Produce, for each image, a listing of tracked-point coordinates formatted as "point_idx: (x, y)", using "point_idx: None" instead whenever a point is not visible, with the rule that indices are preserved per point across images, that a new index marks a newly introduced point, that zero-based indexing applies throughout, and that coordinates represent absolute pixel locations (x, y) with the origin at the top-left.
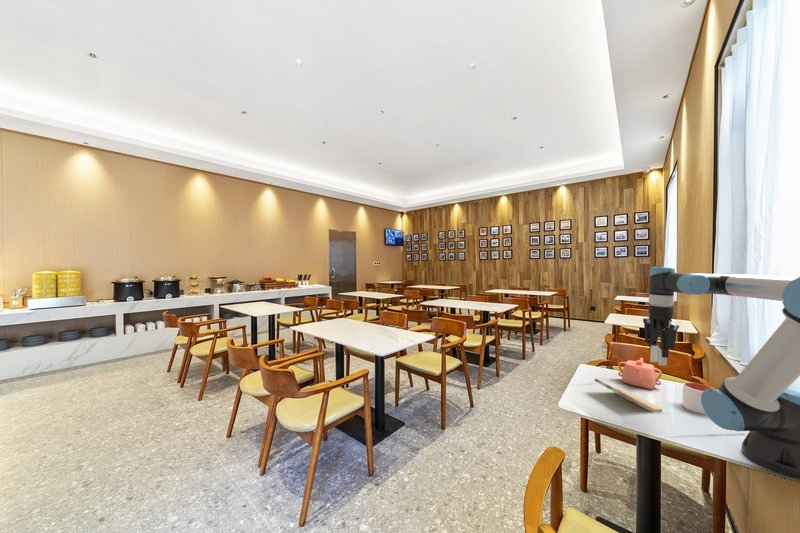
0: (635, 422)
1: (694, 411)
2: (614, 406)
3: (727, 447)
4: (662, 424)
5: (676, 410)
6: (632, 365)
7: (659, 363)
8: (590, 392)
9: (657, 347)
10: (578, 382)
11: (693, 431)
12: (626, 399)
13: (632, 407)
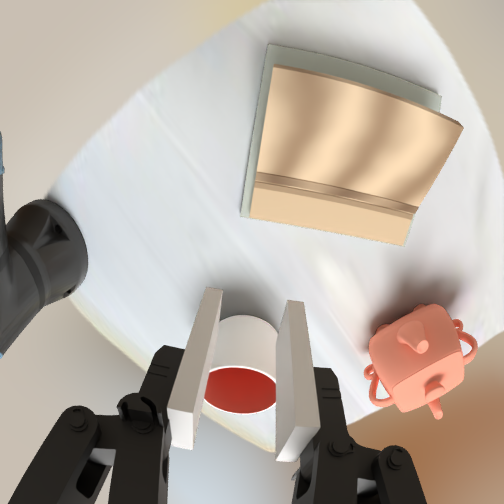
0: (226, 64)
1: (232, 316)
2: None
3: (86, 205)
4: (196, 144)
5: (262, 287)
6: (443, 359)
7: (211, 295)
8: (436, 109)
9: (277, 443)
10: (498, 171)
11: (150, 200)
12: None
13: None
